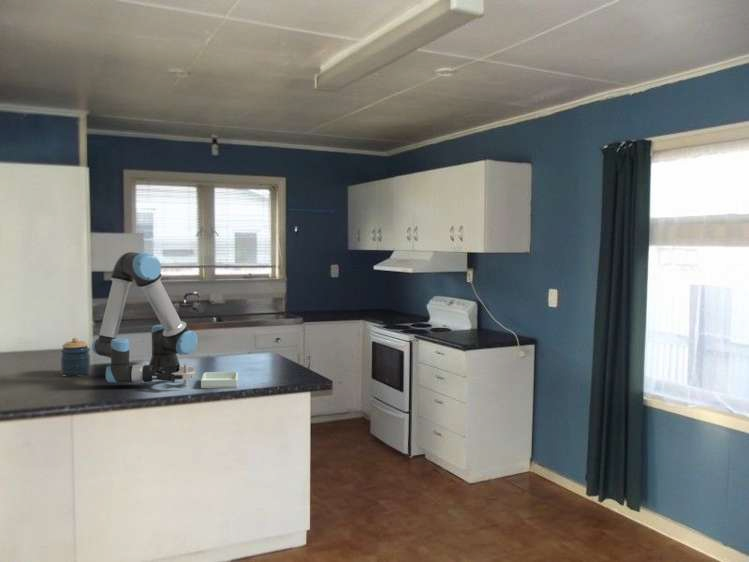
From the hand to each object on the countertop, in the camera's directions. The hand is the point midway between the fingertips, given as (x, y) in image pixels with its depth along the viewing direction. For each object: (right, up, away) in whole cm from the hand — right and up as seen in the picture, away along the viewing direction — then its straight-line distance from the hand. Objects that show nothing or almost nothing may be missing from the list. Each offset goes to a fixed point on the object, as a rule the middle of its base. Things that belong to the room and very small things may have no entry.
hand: (192, 372), depth 290 cm
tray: (+11, -6, +5) cm, 14 cm away
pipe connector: (-3, -6, 0) cm, 7 cm away
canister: (-61, -3, +17) cm, 63 cm away
